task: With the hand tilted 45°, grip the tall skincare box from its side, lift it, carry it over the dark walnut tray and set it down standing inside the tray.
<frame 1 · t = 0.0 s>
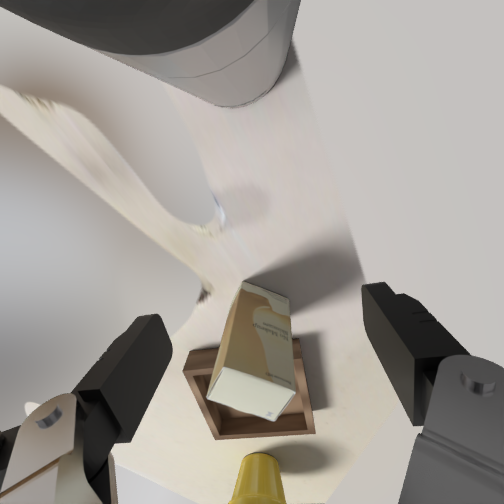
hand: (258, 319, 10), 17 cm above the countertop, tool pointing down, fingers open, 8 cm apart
plant pot: (259, 461, 46), on the countertop
skincare box: (258, 301, 31), on the countertop
walnut tray: (254, 382, 37), on the countertop
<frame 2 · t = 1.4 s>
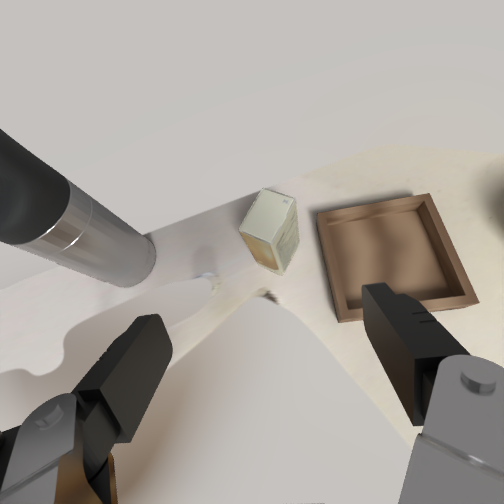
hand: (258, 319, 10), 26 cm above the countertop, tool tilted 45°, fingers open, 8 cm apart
skincare box: (278, 254, 39), on the countertop
walnut tray: (381, 261, 35), on the countertop
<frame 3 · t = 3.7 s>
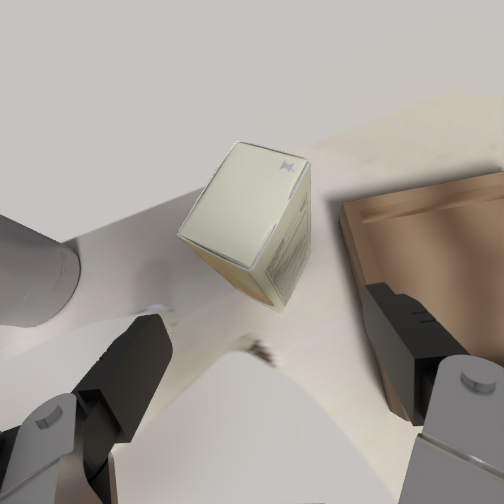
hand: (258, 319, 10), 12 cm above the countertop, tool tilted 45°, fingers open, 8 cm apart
skincare box: (274, 274, 23), on the countertop
walnut tray: (463, 288, 19), on the countertop
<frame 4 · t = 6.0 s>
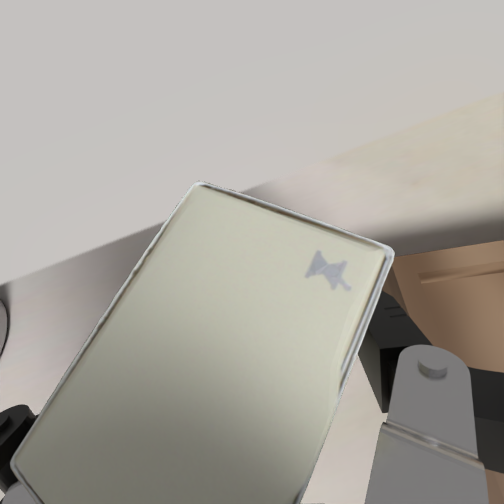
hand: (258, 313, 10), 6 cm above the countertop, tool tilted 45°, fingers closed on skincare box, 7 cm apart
skincare box: (279, 357, 15), on the countertop, touching gripper
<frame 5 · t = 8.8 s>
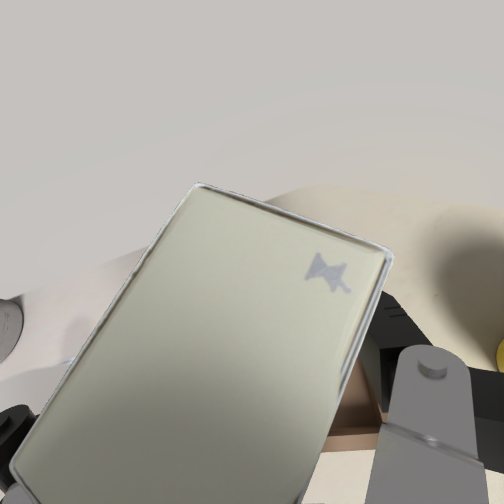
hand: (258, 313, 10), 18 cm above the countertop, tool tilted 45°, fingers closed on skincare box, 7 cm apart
skincare box: (279, 358, 15), point 12 cm above the countertop, touching gripper
walnut tray: (291, 353, 26), on the countertop
when the fingers open (8 cm above the countertop, at t = 11.8 s): skincare box stays where it is, resting on walnut tray.
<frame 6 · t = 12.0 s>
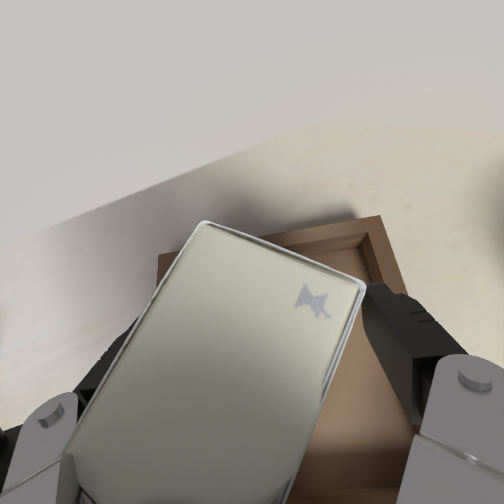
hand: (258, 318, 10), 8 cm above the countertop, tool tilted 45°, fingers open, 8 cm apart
skincare box: (278, 362, 16), point 1 cm above the countertop, touching walnut tray
walnut tray: (282, 357, 17), on the countertop
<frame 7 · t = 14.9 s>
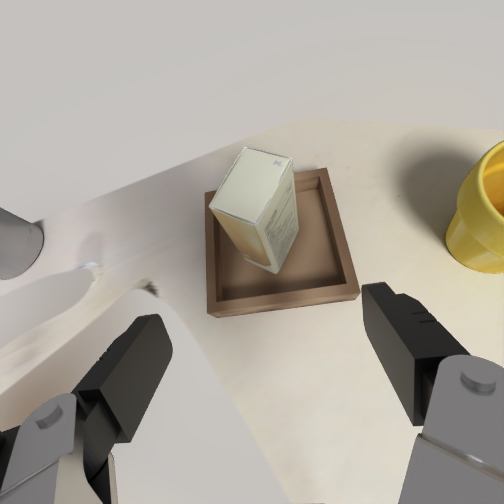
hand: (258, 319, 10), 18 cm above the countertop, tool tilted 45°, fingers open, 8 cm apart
plant pot: (479, 244, 26), on the countertop
skincare box: (271, 247, 30), point 1 cm above the countertop, touching walnut tray
walnut tray: (274, 246, 31), on the countertop
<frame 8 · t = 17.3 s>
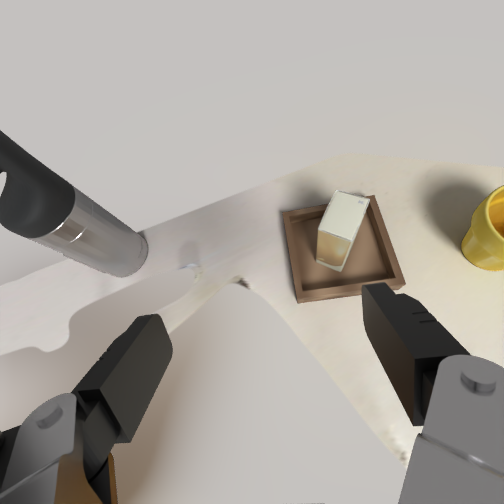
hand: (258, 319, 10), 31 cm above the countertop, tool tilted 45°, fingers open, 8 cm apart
plant pot: (485, 250, 38), on the countertop
skincare box: (334, 252, 41), point 1 cm above the countertop, touching walnut tray
walnut tray: (335, 252, 42), on the countertop
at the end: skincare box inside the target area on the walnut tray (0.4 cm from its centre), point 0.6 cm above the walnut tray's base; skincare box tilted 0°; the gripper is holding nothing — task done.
